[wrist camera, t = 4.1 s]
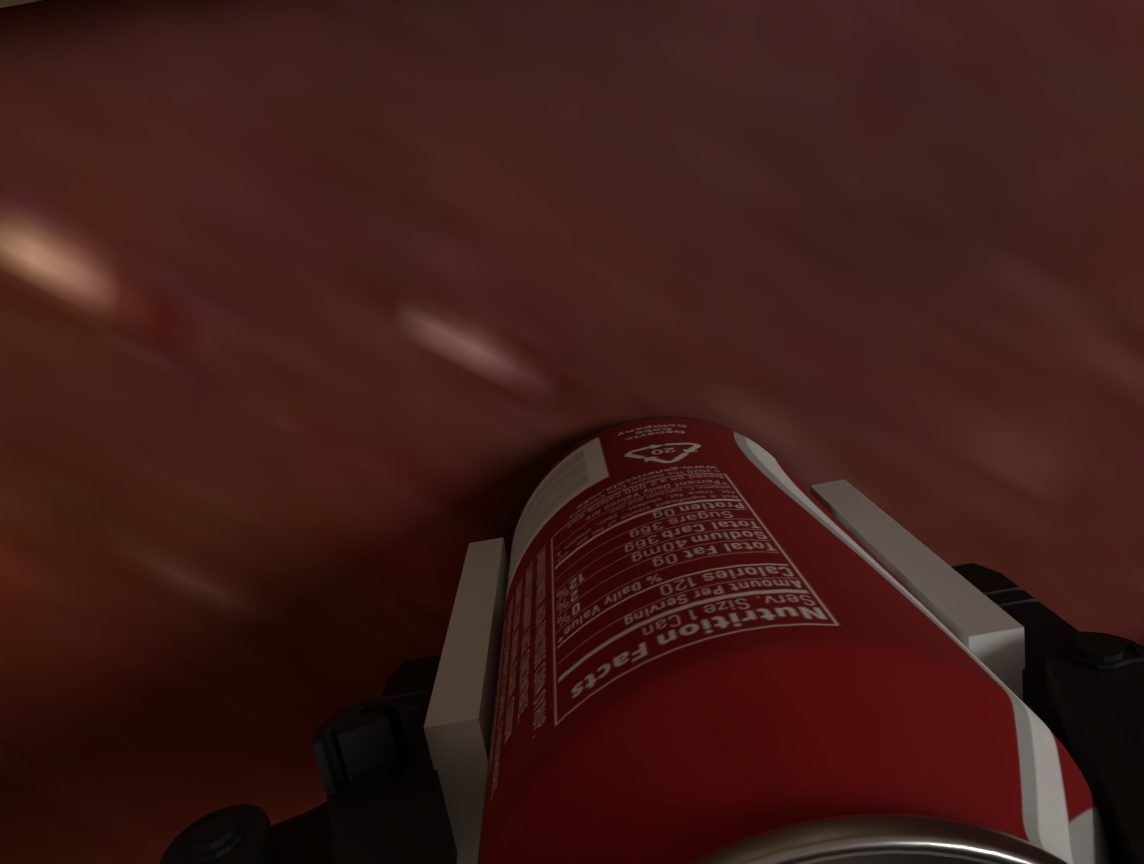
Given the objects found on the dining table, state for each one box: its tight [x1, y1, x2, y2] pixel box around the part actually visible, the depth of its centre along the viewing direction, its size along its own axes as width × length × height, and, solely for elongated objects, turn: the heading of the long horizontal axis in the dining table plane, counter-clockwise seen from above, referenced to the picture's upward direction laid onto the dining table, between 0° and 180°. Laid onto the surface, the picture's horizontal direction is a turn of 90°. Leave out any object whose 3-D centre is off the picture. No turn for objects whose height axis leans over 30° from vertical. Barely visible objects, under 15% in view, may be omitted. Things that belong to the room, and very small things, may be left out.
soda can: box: [477, 416, 1111, 864], centre depth 12 cm, size 7×7×12 cm
